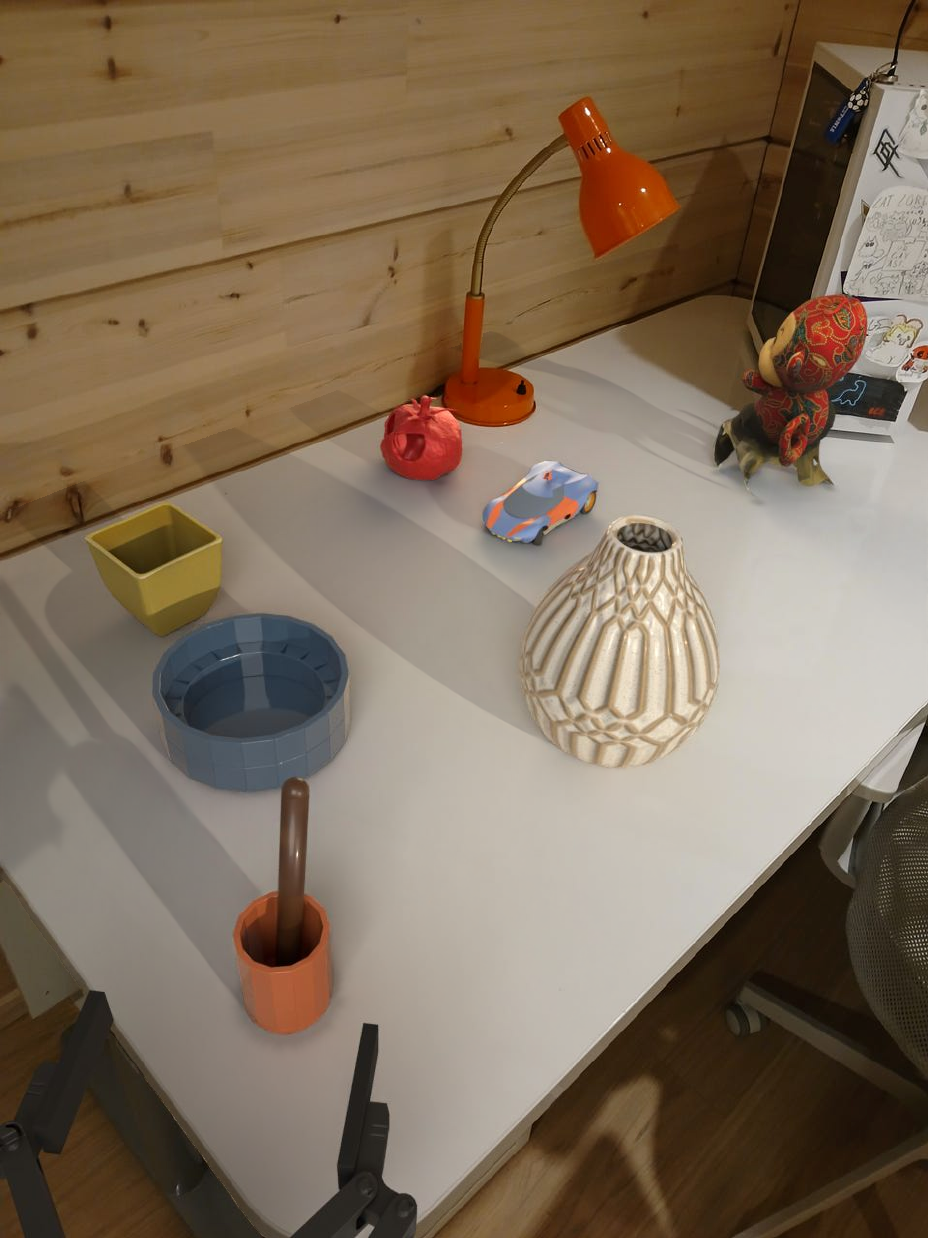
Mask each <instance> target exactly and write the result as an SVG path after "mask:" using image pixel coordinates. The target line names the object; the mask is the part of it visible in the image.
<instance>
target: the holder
mask: <svg viewBox="0 0 928 1238" xmlns="http://www.w3.org/2000/svg"><path fill="white" fill-rule="evenodd" d="M277 902H278V890H275V891H274V890H273V891H270V892H268V893H266V894H263V895H262V896H259V897H258V898H256V899H253V900H252V901H251V902H250V903H249V904H248V905H247V906H245V908H244V909H243V910H242V911H241V912H240V913H239V914H238V916H237V919H236V923H235V925H234V929H233V932H232V940H233V945H234V951H235V957H236V964H237V969H238V970H237V971H238V975H239V982H240V988H241V994H242V998H243V1003H244V1007H245V1010H246V1014H247V1015H248V1017H249V1018H250V1019H251V1020H252V1022H253V1023H254V1024H255V1025H257V1026H258V1027H259V1028H261V1029H262V1030H264V1031H267V1032H270V1033H273V1034H279V1035H286V1034H287V1035H288V1034H294V1033H298V1032H301V1031H304V1030H306V1029H308V1028H309V1027H311V1026H312V1025H314V1024H315V1023H316V1022H317V1021H319V1019H321V1018H322V1016H323V1015H324V1014H325V1013H326V1011H327V1009H328V1008H329V1005H330V1003H331V1000H332V995H333V986H334V977H333V975H334V974H333V959H332V941H331V925H330V921H329V918H328V916H327V911H326V909H325V907H323V906H322V905H321V904H320V903H319V902H318V901H317V900H316V899H315V897H313V896H312V895H309V894H306V893H305V895H304V915H303V936H302V956H301V961H299V962H297V963H295V964H293V965H291V966H283V967H275V961H276V932H277Z"/></svg>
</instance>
